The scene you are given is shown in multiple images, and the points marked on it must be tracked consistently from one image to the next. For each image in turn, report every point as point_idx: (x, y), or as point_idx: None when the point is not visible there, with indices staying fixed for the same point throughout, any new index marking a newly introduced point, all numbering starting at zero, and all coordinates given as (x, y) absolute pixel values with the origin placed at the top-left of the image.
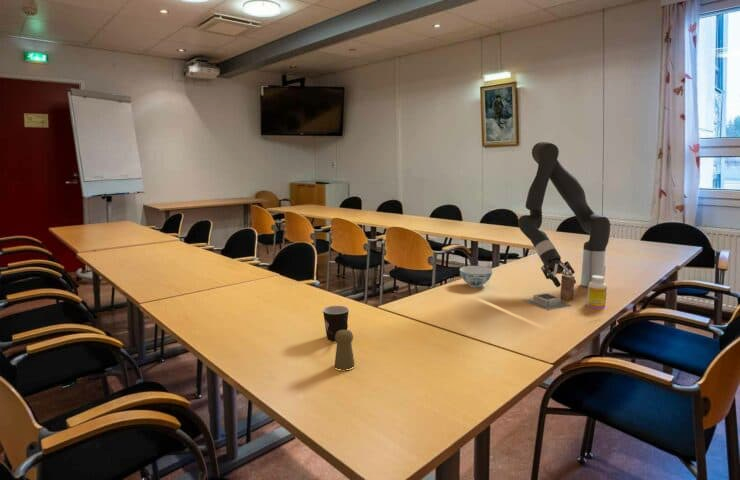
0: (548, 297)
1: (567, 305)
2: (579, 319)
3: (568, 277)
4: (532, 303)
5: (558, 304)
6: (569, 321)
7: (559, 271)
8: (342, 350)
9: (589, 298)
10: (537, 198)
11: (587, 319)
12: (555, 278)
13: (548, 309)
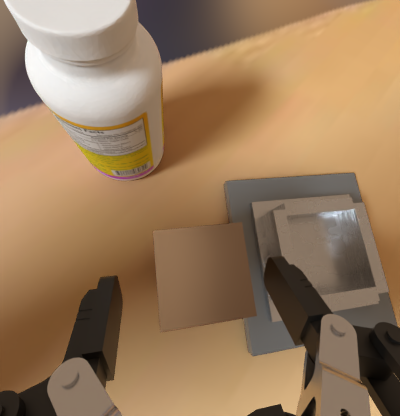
0: None
1: (245, 189)
2: (281, 87)
3: (240, 224)
4: None
5: (287, 199)
6: (322, 88)
7: (251, 414)
8: None
9: (163, 127)
10: None
11: (256, 77)
12: (315, 310)
13: (347, 179)
